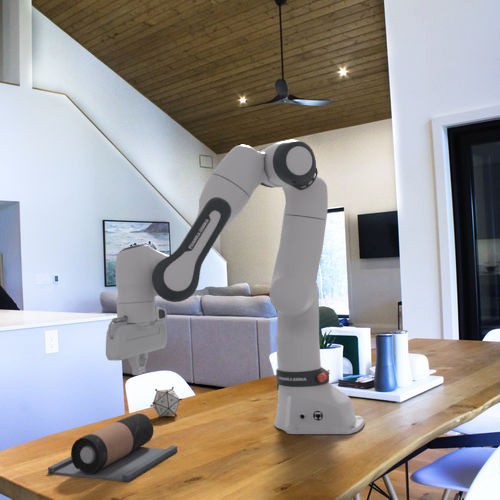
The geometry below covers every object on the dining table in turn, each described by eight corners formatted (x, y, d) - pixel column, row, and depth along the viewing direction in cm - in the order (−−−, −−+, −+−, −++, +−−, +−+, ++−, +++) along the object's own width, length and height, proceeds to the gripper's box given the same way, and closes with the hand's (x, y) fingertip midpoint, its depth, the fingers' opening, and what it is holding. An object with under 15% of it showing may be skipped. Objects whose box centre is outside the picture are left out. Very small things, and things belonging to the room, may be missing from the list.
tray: (177, 451, 131) (177, 446, 131) (128, 481, 113) (128, 475, 113) (104, 445, 138) (104, 440, 138) (48, 473, 121) (48, 467, 121)
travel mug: (147, 407, 135) (92, 432, 117) (159, 439, 134) (105, 469, 115) (122, 418, 138) (65, 443, 119) (134, 449, 137) (77, 479, 118)
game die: (171, 431, 161) (174, 407, 156) (144, 420, 163) (145, 396, 157) (184, 408, 168) (187, 384, 163) (158, 398, 170) (160, 374, 165)
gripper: (121, 318, 124) (123, 383, 124) (170, 310, 143) (172, 366, 142) (97, 318, 126) (99, 382, 126) (148, 310, 145) (151, 366, 145)
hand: (139, 373), depth 134 cm, fingers closed
